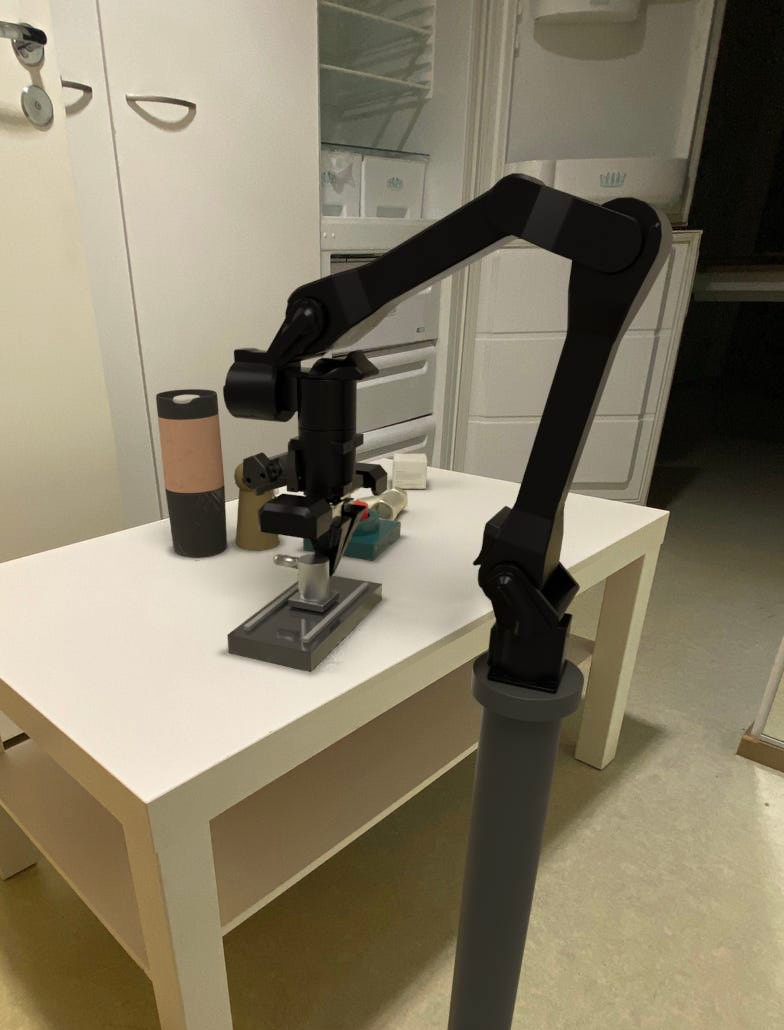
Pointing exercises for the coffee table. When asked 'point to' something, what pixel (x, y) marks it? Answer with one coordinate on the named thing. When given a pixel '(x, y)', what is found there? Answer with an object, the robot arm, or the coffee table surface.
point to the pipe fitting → (387, 503)
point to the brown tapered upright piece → (251, 517)
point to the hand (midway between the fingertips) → (328, 574)
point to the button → (365, 514)
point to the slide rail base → (304, 625)
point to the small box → (409, 471)
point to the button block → (369, 537)
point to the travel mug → (193, 470)
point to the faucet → (310, 581)
